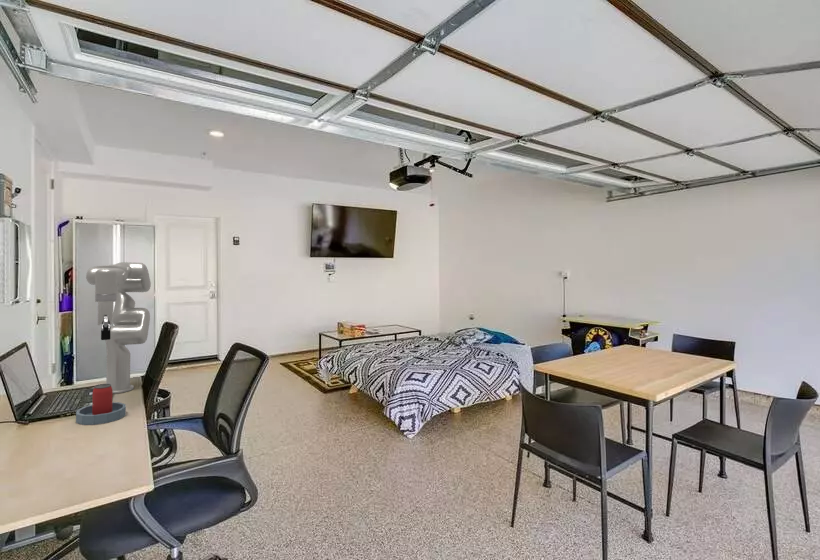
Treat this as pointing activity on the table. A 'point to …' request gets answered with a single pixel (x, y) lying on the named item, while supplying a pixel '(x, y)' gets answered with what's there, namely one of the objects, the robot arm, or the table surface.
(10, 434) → the table surface
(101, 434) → the table surface
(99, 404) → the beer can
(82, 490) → the table surface
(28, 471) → the table surface
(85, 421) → the bowl
